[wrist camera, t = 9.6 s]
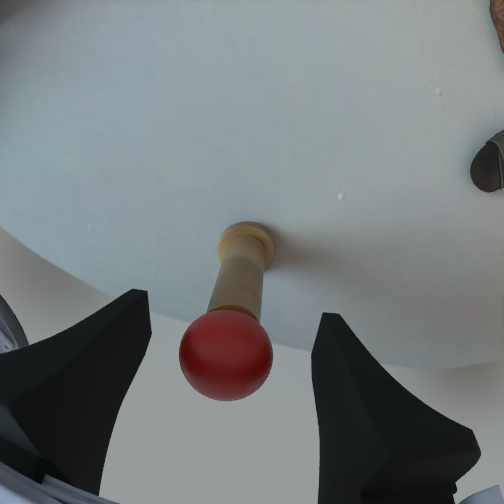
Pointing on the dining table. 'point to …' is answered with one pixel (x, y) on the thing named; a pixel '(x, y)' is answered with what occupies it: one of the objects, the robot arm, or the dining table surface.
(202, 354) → the ball
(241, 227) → the flanged wooden peg
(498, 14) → the pastry
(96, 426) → the robot arm
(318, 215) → the dining table surface
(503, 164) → the knife
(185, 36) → the dining table surface
